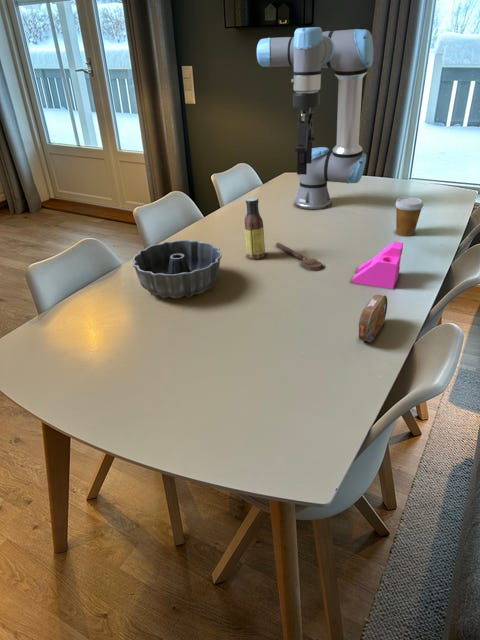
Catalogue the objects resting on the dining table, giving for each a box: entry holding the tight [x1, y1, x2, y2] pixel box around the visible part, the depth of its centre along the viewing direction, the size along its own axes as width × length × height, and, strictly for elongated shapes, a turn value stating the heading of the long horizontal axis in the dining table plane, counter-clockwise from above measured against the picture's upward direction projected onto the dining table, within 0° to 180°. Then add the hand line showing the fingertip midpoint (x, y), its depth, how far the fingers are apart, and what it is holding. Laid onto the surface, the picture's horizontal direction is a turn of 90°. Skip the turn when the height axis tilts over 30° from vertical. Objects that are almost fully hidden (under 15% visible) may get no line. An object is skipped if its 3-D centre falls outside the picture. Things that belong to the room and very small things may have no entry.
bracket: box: [351, 241, 404, 290], centre depth 139 cm, size 12×10×10 cm
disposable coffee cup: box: [395, 196, 425, 237], centre depth 168 cm, size 10×10×12 cm
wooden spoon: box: [275, 242, 323, 271], centre depth 157 cm, size 24×5×2 cm, turn 29°
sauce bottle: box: [244, 196, 266, 260], centre depth 154 cm, size 6×6×20 cm
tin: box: [358, 294, 388, 343], centre depth 114 cm, size 15×3×8 cm, turn 148°
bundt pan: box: [132, 239, 223, 299], centre depth 141 cm, size 26×26×10 cm
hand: (304, 168), depth 143 cm, fingers open, 13 cm apart
